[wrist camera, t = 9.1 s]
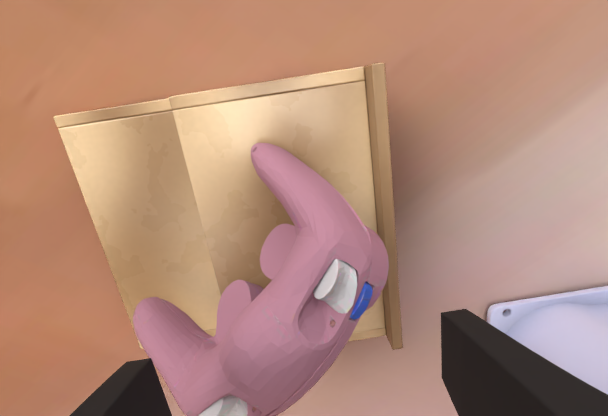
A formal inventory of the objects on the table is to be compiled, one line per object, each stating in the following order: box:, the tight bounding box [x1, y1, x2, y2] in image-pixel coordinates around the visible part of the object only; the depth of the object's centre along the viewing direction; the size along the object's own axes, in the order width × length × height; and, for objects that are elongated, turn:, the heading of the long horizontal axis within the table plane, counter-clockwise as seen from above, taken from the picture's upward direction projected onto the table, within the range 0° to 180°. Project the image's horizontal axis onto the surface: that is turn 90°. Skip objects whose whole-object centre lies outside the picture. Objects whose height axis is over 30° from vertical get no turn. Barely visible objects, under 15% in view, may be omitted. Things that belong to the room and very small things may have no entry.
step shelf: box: [53, 62, 403, 350], centre depth 16 cm, size 14×12×4 cm
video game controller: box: [133, 143, 389, 416], centre depth 13 cm, size 10×5×7 cm, turn 142°
